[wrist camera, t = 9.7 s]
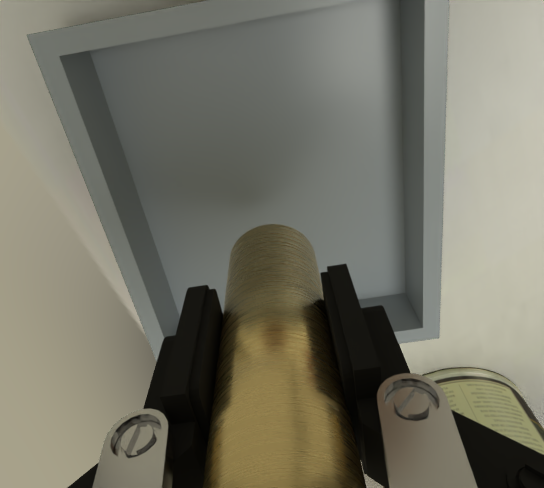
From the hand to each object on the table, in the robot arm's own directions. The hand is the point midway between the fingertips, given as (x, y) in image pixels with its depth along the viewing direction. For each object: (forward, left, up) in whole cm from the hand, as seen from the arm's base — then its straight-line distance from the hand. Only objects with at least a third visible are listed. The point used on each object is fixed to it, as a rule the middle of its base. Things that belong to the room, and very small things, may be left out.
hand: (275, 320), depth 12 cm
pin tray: (0, 0, -10) cm, 10 cm away
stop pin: (0, 0, -3) cm, 3 cm away
